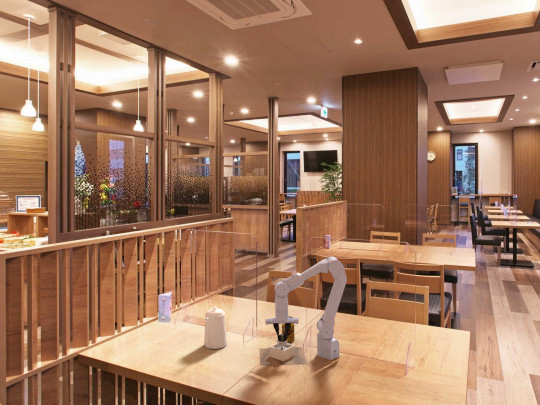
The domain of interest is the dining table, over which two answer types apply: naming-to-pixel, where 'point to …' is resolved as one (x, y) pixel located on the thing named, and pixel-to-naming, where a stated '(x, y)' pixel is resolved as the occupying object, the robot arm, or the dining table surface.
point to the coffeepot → (215, 329)
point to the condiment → (291, 332)
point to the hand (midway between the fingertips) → (282, 339)
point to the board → (267, 360)
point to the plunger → (282, 342)
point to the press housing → (282, 351)
